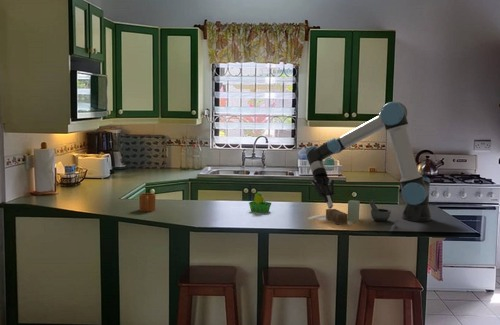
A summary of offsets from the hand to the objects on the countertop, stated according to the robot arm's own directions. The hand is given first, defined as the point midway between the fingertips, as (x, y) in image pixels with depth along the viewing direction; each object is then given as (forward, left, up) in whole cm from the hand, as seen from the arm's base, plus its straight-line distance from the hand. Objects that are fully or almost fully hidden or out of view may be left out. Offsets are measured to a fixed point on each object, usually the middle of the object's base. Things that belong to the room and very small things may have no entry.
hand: (330, 207), depth 278 cm
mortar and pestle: (-22, -12, -8) cm, 26 cm away
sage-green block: (-11, -4, -6) cm, 13 cm away
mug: (+94, +37, -8) cm, 101 cm away
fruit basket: (+43, 0, -8) cm, 44 cm away
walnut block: (+1, -1, -4) cm, 4 cm away
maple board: (-2, 0, -8) cm, 8 cm away
